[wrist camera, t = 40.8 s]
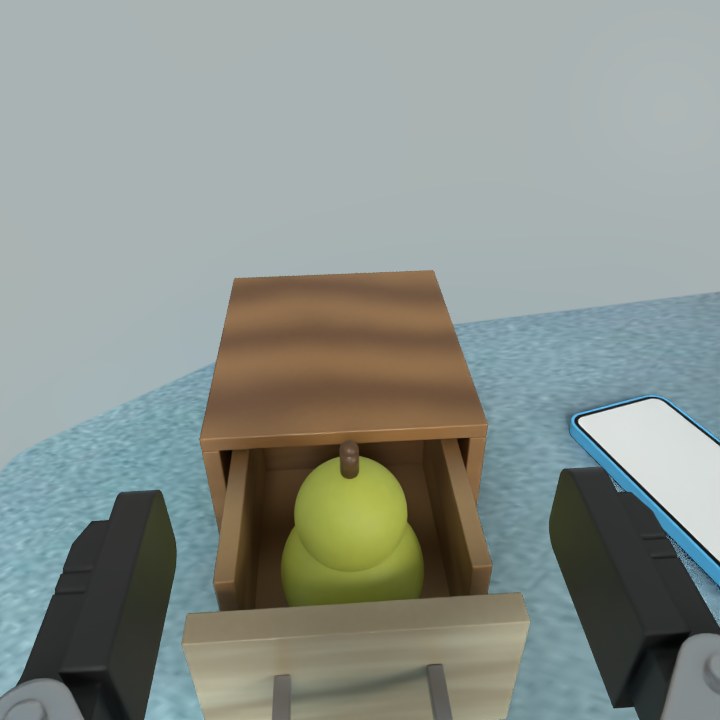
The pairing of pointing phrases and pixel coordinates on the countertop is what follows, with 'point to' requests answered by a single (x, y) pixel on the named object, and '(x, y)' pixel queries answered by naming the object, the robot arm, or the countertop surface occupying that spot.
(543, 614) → the countertop surface
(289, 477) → the drawer
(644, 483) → the smartphone
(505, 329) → the countertop surface
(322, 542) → the pear
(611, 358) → the countertop surface
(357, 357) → the cabinet
